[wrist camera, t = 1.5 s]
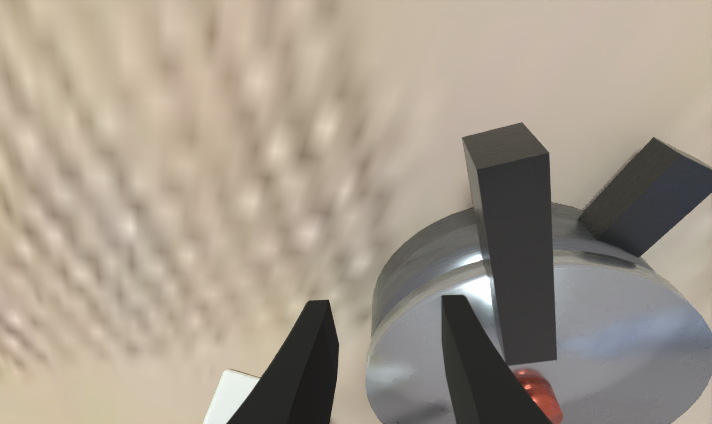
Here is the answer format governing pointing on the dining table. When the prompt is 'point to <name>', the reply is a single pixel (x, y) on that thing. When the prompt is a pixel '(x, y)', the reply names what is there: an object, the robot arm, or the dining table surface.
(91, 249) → the dining table surface
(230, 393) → the medicine bottle
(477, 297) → the cooker lid
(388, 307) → the cooker pot
